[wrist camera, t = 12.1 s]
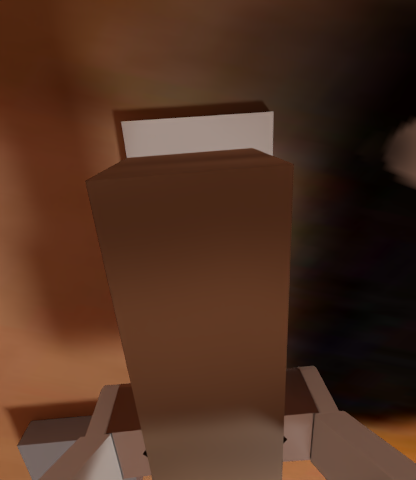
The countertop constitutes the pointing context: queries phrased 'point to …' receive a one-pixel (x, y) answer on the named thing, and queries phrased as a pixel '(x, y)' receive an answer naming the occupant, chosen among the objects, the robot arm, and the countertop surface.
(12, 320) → the countertop surface
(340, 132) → the countertop surface
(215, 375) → the tan mallet
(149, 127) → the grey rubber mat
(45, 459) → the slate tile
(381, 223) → the countertop surface
